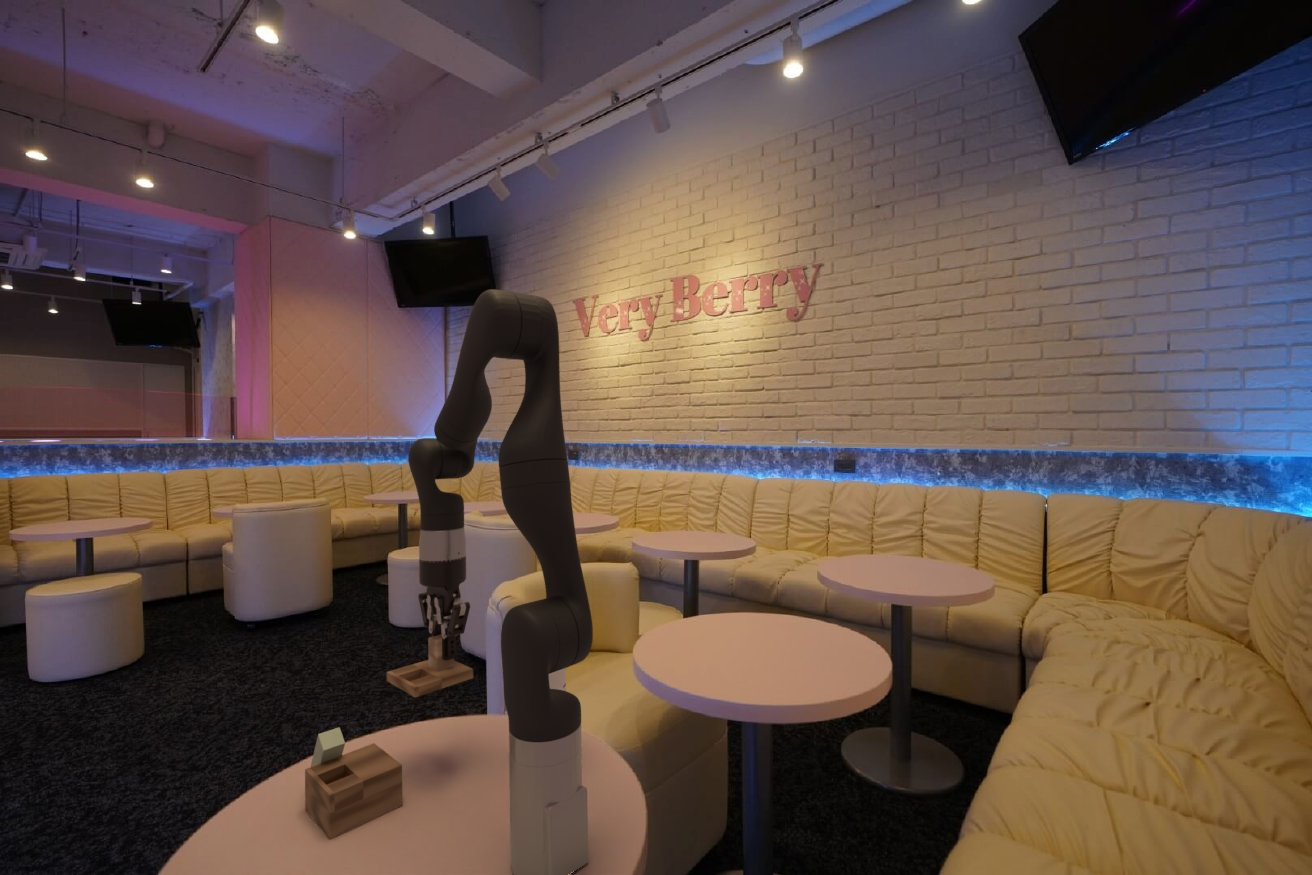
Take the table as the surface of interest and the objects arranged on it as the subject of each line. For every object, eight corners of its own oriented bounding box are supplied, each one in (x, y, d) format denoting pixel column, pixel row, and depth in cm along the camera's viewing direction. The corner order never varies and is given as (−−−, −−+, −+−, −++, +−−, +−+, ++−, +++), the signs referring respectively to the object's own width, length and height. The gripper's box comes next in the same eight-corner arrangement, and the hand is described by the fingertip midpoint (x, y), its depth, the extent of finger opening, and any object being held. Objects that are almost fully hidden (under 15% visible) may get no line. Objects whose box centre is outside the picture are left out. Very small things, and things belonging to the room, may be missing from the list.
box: (402, 805, 87) (402, 764, 87) (330, 839, 80) (329, 795, 80) (374, 780, 94) (374, 743, 94) (305, 809, 86) (305, 769, 87)
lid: (473, 677, 97) (472, 638, 98) (414, 697, 90) (414, 655, 90) (443, 663, 104) (443, 627, 104) (386, 680, 97) (386, 641, 97)
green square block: (345, 742, 89) (334, 784, 93) (339, 727, 91) (329, 768, 95) (323, 750, 87) (313, 792, 91) (318, 733, 89) (308, 776, 93)
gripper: (484, 556, 97) (486, 660, 97) (443, 547, 107) (443, 642, 106) (442, 563, 92) (443, 673, 91) (402, 553, 101) (403, 653, 101)
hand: (443, 656), depth 99 cm, fingers closed on lid, 3 cm apart
